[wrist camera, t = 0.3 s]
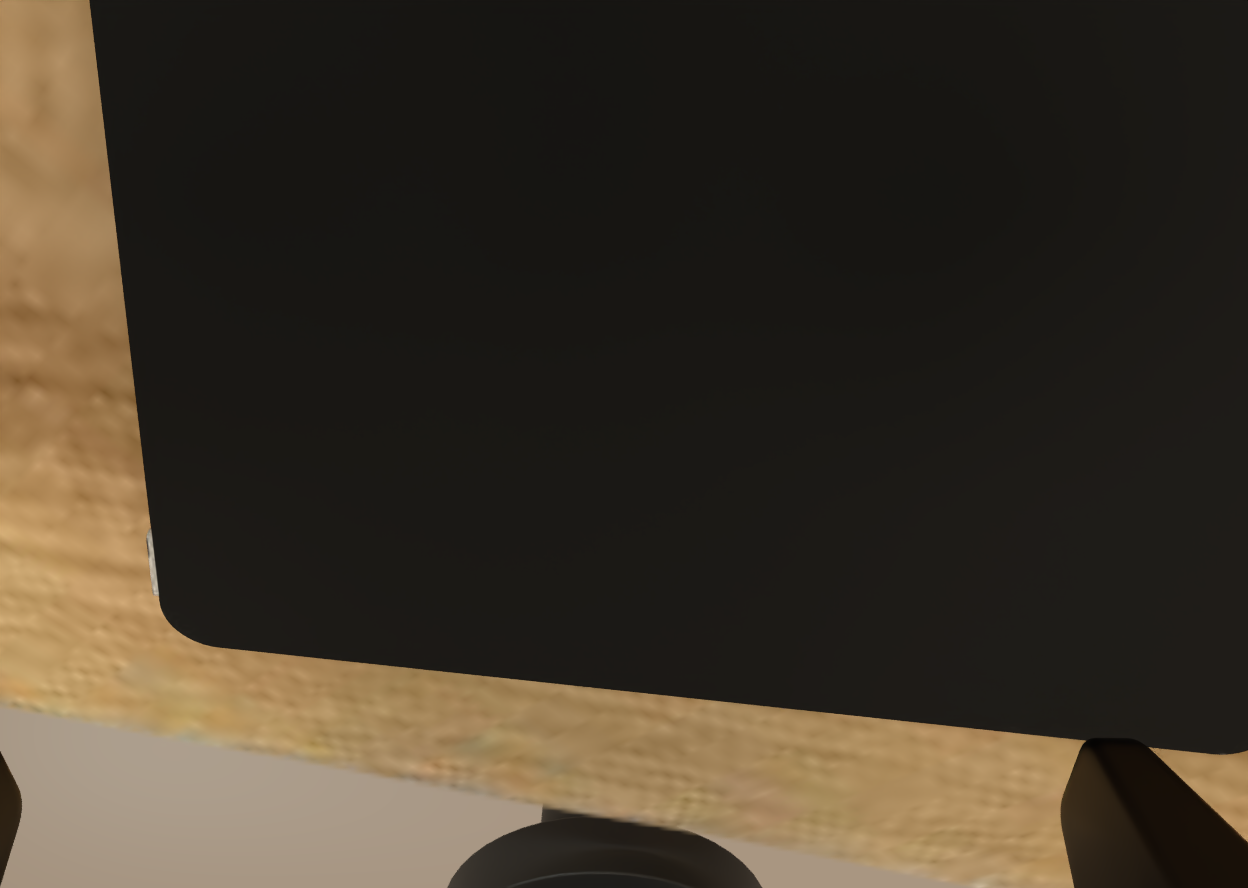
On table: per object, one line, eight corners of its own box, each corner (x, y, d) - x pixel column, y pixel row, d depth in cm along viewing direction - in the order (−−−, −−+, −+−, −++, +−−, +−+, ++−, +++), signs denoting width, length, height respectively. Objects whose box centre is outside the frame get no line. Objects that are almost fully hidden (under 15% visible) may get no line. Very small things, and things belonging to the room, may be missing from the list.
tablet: (157, 640, 26) (25, -450, 15) (167, 620, 26) (47, -445, 15) (1261, 759, 28) (1871, -124, 17) (1248, 737, 29) (1830, -130, 17)
